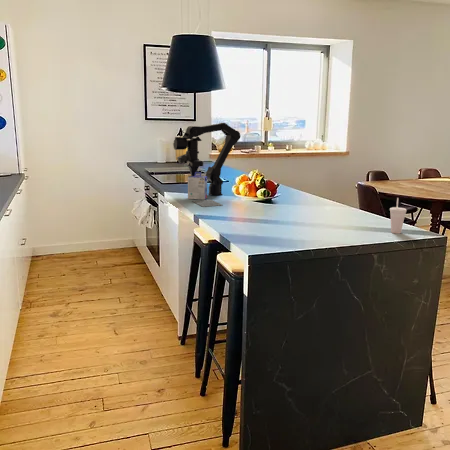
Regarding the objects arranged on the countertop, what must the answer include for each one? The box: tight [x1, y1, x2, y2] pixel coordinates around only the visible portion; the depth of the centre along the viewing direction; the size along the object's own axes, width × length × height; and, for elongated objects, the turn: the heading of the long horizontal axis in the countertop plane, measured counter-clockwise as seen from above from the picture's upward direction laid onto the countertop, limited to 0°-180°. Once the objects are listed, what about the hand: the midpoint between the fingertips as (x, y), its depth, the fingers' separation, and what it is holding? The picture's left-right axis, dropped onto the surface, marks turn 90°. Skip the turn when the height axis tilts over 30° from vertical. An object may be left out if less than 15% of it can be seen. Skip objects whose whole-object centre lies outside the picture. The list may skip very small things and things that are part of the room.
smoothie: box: [389, 197, 407, 235], centre depth 188 cm, size 6×6×14 cm
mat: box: [191, 199, 224, 208], centre depth 245 cm, size 11×16×1 cm
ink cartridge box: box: [187, 171, 208, 200], centre depth 257 cm, size 10×6×14 cm, turn 78°
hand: (192, 177), depth 263 cm, fingers closed
